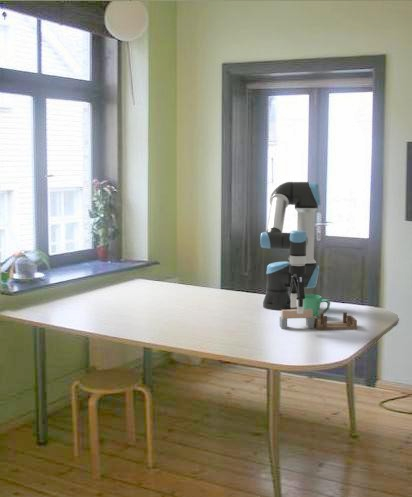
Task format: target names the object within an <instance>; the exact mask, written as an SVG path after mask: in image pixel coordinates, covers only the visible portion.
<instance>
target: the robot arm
mask: <svg viewBox="0 0 412 497" xmlns="http://www.w3.org/2000/svg"><path fill="white" fill-rule="evenodd" d="M320 192H321V191H320V185H319V184H318V182H314V181H313V182H312V181H286V182H284V183H282V184H279V185H278V186H276V188H275V189H274V190H273V191H272V193H271V194H270V199H269V203H270V208H269V215H268V220H267V226H266V231H263V232H261V233H260V240H259V241H260V242H259V243H260V244H259V245H260V247H261V248H263V249H274V250H275V249H277V250H279V249H283V250H289V257H288V258H287V259H288V260H289V261H284V260H283V261H275V262H271V263H269V264H268V265H267V266H266V272H265V274H266V290H265V291H266V292H265V295H264V297H263V301H262V306H263V308H265V309H269V310H277V311H278V310H290V309H292V308H296V309H297V314H303V309H304V308H303V304H304V299H305V295H306V294H305V289H314V288H316V287H317V282H318V278H319V273H320V272H319V271H320V265H317V261H316V260H315V259H314V258H315V257H314V252H315V251H314V250H315V215H316V214H315V212H316V211H317V210H318V208H319V206H321V204H322V202H321V201H322V200H321V193H320ZM289 205H290V206H291V205H292V206H294V209H295V210H296V212H297V220H296V222H297V225H296V226H297V227H296V229H297V230H291V231H290V232H283V229H284V223H285V222H284V221H285V216H286V209H287V207H288V206H289Z"/></svg>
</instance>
